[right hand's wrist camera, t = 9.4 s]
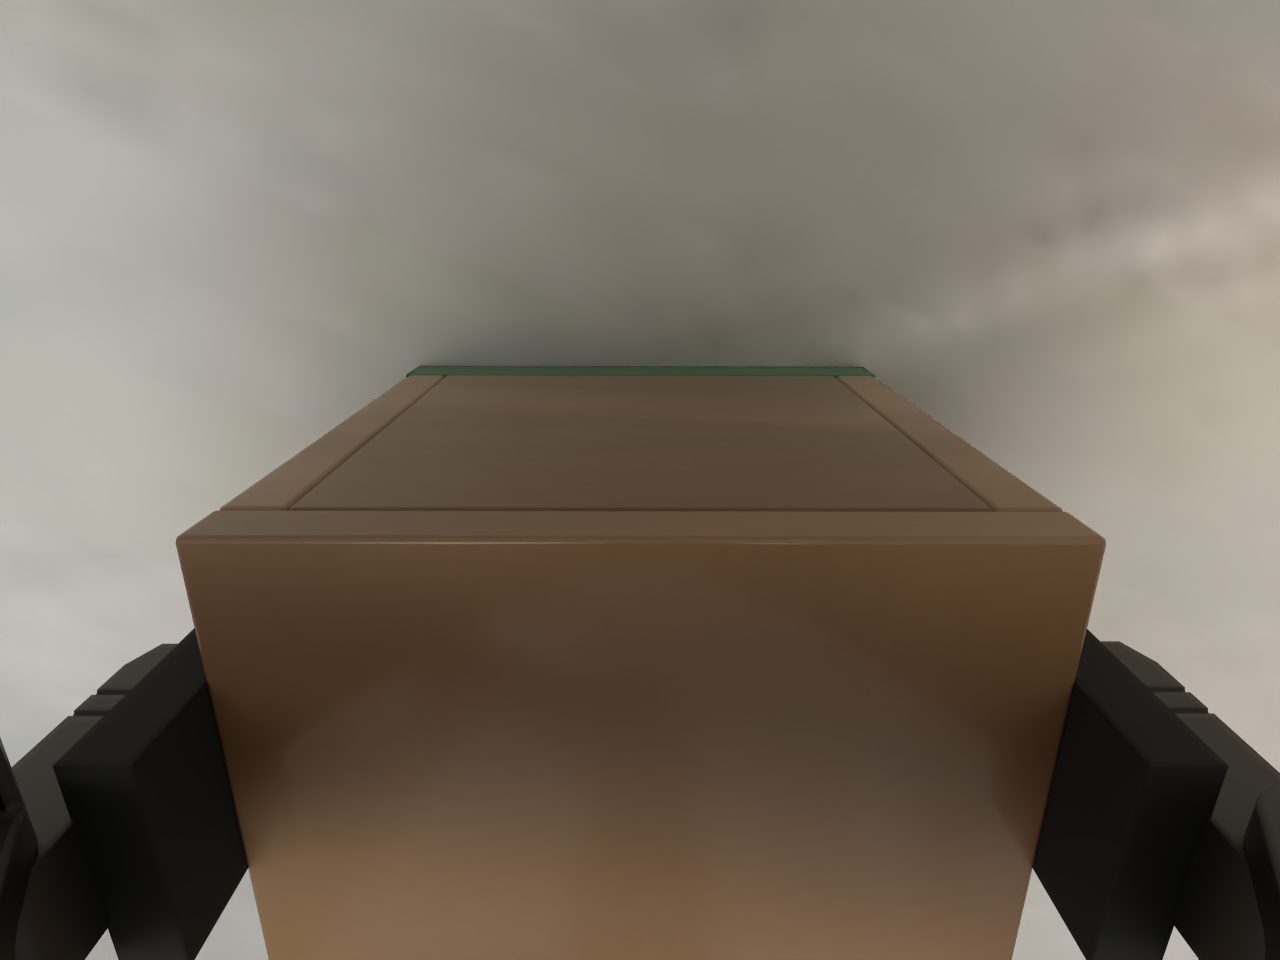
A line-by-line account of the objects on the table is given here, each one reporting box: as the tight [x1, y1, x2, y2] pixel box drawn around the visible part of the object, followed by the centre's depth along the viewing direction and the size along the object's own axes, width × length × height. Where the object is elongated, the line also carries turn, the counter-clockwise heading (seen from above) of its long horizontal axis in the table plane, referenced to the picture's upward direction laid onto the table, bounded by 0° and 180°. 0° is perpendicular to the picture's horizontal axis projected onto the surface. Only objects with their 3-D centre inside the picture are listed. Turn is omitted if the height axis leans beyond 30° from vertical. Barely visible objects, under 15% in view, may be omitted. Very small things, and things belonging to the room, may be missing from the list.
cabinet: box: [176, 366, 1106, 960], centre depth 16 cm, size 21×10×9 cm, turn 0°
